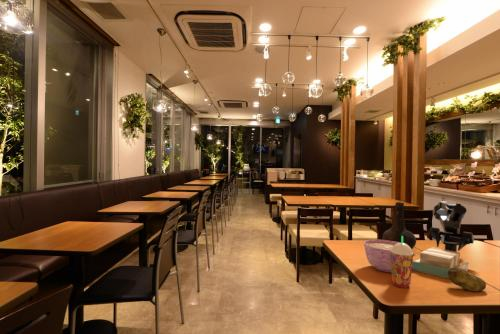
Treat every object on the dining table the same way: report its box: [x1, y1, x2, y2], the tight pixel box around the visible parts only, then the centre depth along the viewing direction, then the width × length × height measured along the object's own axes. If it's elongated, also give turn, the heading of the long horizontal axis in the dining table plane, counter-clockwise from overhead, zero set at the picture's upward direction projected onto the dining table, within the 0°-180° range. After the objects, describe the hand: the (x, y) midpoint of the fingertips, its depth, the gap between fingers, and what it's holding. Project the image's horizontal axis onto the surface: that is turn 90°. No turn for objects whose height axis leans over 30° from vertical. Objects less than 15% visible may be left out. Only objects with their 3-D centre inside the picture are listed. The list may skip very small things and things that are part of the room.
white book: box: [412, 258, 469, 280], centre depth 146 cm, size 23×18×4 cm
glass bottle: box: [381, 201, 417, 250], centre depth 178 cm, size 18×18×28 cm
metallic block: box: [419, 246, 461, 269], centre depth 145 cm, size 16×12×8 cm
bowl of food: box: [363, 239, 399, 273], centre depth 144 cm, size 20×20×12 cm
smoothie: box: [391, 236, 415, 289], centre depth 125 cm, size 8×8×20 cm
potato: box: [447, 267, 487, 292], centre depth 122 cm, size 8×13×8 cm, turn 57°
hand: (447, 248), depth 155 cm, fingers open, 9 cm apart
